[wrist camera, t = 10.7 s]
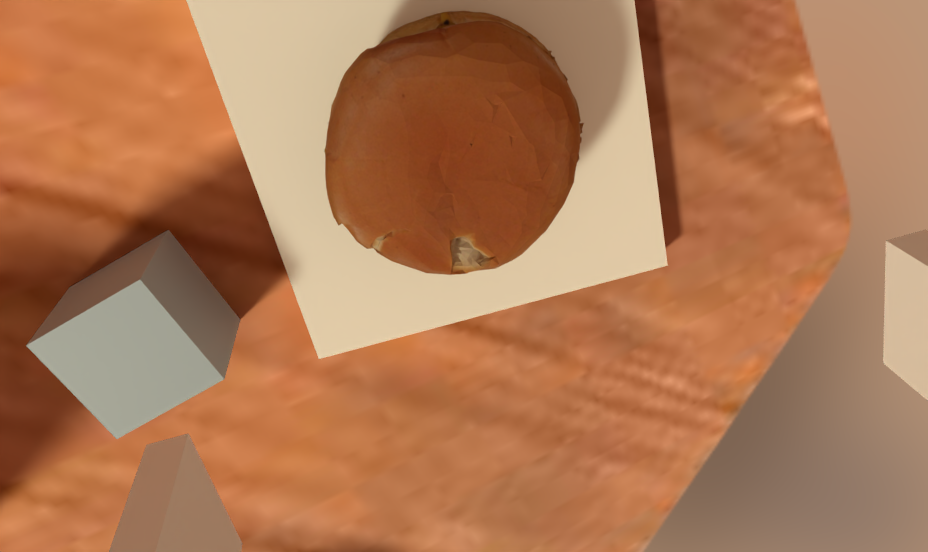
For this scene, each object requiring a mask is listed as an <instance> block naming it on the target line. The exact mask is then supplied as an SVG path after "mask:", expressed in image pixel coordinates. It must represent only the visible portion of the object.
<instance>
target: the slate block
mask: <svg viewBox="0 0 928 552" xmlns="http://www.w3.org/2000/svg"><path fill="white" fill-rule="evenodd" d="M239 322H240V319H239V317H238V316H237V315H236V314H235V312H234V311H233V310H232V309H231V307H230V306H229V305H228V304H227V302H226V301H225V300H224V299H223V297H222V296H221V295H220V294H219V292H218V291H217V290H216V289H215V287H214V286H213V285H212V283H211V282H210V281H209V280H208V278H207V277H206V276H205V275H204V273H203V272H202V271H201V270H200V268H199V267H198V266H197V265H196V263H195V262H194V261H193V260H192V258H191V257H190V256H189V255H188V253H187V252H186V251H185V250H184V248H183V247H182V246H181V245H180V243H179V242H178V241H177V240H176V238H175V237H174V236H173V235H172V233H171V232H170V231H169V230H167V231H165V232H163V233H162V234H160V235H158V236H157V237H155V238H153V239H151V240H150V241H148V242H146V243H145V244H143V245H141V246H139V247H138V248H136V249H134V250H133V251H131V252H129V253H127V254H126V255H124V256H122V257H121V258H119V259H117V260H115V261H114V262H112V263H110V264H109V265H107V266H105V267H103V268H102V269H100V270H98V271H97V272H95V273H93V274H91V275H90V276H88V277H86V278H85V279H83V280H81V281H79V282H78V283H76V284H74V285H73V286H71V287H69V289H68V290H67V291H66V293H65V294H64V295H63V297H62V298H61V299H60V301H59V302H58V303H57V305H56V306H55V307H54V309H53V310H52V311H51V313H50V314H49V315H48V317H47V318H46V319H45V321H44V322H43V323H42V325H41V326H40V327H39V329H38V330H37V331H36V333H35V334H34V335H33V337H32V338H31V339H30V341H29V342H28V343H27V345H26V346H27V347H28V348H29V349H30V350H31V351H32V352H33V353H34V354H35V355H36V356H37V357H38V359H39V360H40V361H41V362H42V363H43V364H44V365H45V366H46V367H47V368H48V369H49V370H50V371H51V372H52V373H53V374H54V375H55V376H56V377H57V378H58V379H59V380H60V381H61V382H62V383H63V384H64V385H65V386H66V387H67V388H68V389H69V390H70V391H71V392H72V394H73V395H74V396H75V397H76V398H77V399H78V400H79V401H80V402H81V403H82V404H83V405H84V406H85V407H86V408H87V409H88V410H89V411H90V412H91V413H92V414H93V415H94V416H95V417H96V418H97V419H98V420H99V421H100V422H101V423H102V424H103V425H104V426H105V427H106V428H107V430H108V431H109V432H110V433H111V434H112V435H113V436H114V437H115V438H116V439H118V438H120V437H122V436H123V435H125V434H127V433H129V432H130V431H132V430H134V429H136V428H138V427H139V426H141V425H143V424H145V423H147V422H148V421H150V420H152V419H154V418H156V417H157V416H159V415H161V414H163V413H165V412H166V411H168V410H170V409H172V408H174V407H175V406H177V405H179V404H181V403H182V402H184V401H186V400H188V399H190V398H191V397H193V396H195V395H197V394H199V393H200V392H202V391H204V390H206V389H208V388H209V387H211V386H213V385H215V384H217V383H218V382H220V381H222V380H224V378H225V375H226V371H227V367H228V364H229V360H230V356H231V352H232V349H233V345H234V341H235V337H236V334H237V330H238V326H239Z"/></svg>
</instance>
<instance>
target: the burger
mask: <svg viewBox="0 0 928 552" xmlns="http://www.w3.org/2000/svg"><path fill="white" fill-rule="evenodd" d="M551 52H552V51H548V50H547V48H546V47H545V46H544V45H543V44H542V43H541V42H539V40H538V39H537V38H536V37H534V36H533V35H532V34H530V33H529V32H527V31H526V30H525V29H523V28H522V27H520V26H518V25H516V24H514V23H512V22H511V21H509V20H506V19H504V18H501V17H499V16H496V15H492V14H489V13H483V12H470V11H450V12H442V13H438V14H434V15H431V16H427V17H425V18H422V19H419V20H416V21H413V22H410V23H407V24H405V25H403V26H401V27H399V28H397V29H395V30H394V31H392V32H390V33H389V34H388V35H387V36H386V37H385V38H384V39H383V40H382V41H381V42H380V44H378V45H377V46H375V47H373V48H368V49H366V50H365V51H363V52H362V53H361V54H360V55H359V56H358V57H357V59H356V60H355V61H354V62H353V63H352V65H351V66H350V67H349V68H348V70H347V71H346V72H345V74H344V76H343V78H342V80H341V82H340V85H339V88H338V91H337V94H336V96H335V99H334V101H333V103H332V105H331V113H330V119H329V122H328V130H327V138H326V147H325V179H326V189H327V196H328V200H329V204H330V207H331V211H332V214H333V217H334V219H335V220H336V222H337V224H338V226H339V225H341V224H343V225H344V226H345V227H346V228H347V229H348V231H349V232H350V233H351V234H352V236H353V237H354V238H355V240H356V241H357V242H358V243H359V244H361V245H362V246H364V247H365V248H366V249H371V248H373V249H374V250H375V251H376V252H377V253H379V254H380V255H382V256H384V257H385V258H387V259H389V260H390V261H393V262H395V263H398V264H401V265H404V266H407V267H410V268H413V269H416V270H419V271H422V272H425V273H431V274H445V275H455V274H467V273H469V272H473V271H479V270H488V269H496V268H498V267H500V266H502V265H504V264H506V263H508V262H510V261H512V260H514V259H516V258H517V257H519V256H520V255H522V254H523V253H524V252H525V251H526V250H527V249H528V248H529V247H530V246H531V245H532V244H533V243H534V242H535V241H536V240H537V239H538V238H539V237H540V236H541V235H542V234H543V233H544V232H545V231H546V230H547V229H548V227H549V226H550V224H551V223H552V221H553V220H554V218H555V217H556V215H557V214H558V213H559V211H560V210H561V208H562V207H563V205H564V203H565V201H566V199H567V197H568V194H569V192H570V190H571V188H572V185H573V183H574V178H575V171H576V165H577V162H578V160H579V150H580V143H581V141H582V138H581V137H580V134H581V133H582V128H583V124H584V123H580V121H581V119H580V114H579V108H578V104H577V101H576V99H575V97H574V95H573V93H572V91H571V89H570V87H569V85H568V83H567V80H568V79H567V78H566V76H565V74H563V73H562V71H561V70H560V68H559V66H558V64H557V62H556V60H555V57H553V56H552V55H551Z"/></svg>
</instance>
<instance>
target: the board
mask: <svg viewBox="0 0 928 552" xmlns="http://www.w3.org/2000/svg"><path fill="white" fill-rule="evenodd" d="M186 1H187V3H188V6H189V9H190V11H191V14H192V17H193V20H194V22H195V25H196V28H197V30H198V33H199V36H200V38H201V41H202V44H203V47H204V49H205V52H206V55H207V57H208V60H209V63H210V66H211V68H212V71H213V74H214V76H215V79H216V82H217V84H218V87H219V90H220V93H221V95H222V98H223V101H224V103H225V106H226V109H227V112H228V114H229V117H230V120H231V122H232V125H233V128H234V130H235V133H236V136H237V139H238V141H239V144H240V147H241V149H242V152H243V155H244V158H245V160H246V163H247V166H248V168H249V171H250V174H251V176H252V179H253V182H254V185H255V187H256V190H257V193H258V195H259V198H260V201H261V204H262V206H263V209H264V212H265V214H266V217H267V220H268V222H269V225H270V228H271V231H272V233H273V236H274V239H275V241H276V244H277V247H278V250H279V252H280V255H281V258H282V260H283V263H284V266H285V268H286V271H287V274H288V277H289V279H290V282H291V285H292V287H293V290H294V293H295V296H296V298H297V301H298V304H299V306H300V309H301V312H302V314H303V317H304V320H305V323H306V325H307V328H308V331H309V333H310V336H311V339H312V342H313V344H314V347H315V350H316V352H317V355H318V358H319V359H321V358H325V357H328V356H332V355H336V354H340V353H343V352H347V351H351V350H354V349H358V348H362V347H366V346H369V345H373V344H377V343H381V342H384V341H388V340H392V339H395V338H399V337H403V336H407V335H410V334H414V333H418V332H422V331H425V330H429V329H433V328H436V327H440V326H444V325H448V324H451V323H455V322H459V321H463V320H466V319H470V318H474V317H477V316H481V315H485V314H489V313H492V312H496V311H500V310H504V309H507V308H511V307H515V306H518V305H522V304H526V303H530V302H533V301H537V300H541V299H545V298H548V297H552V296H556V295H559V294H563V293H567V292H571V291H574V290H578V289H582V288H586V287H589V286H593V285H597V284H600V283H604V282H608V281H612V280H615V279H619V278H623V277H627V276H630V275H634V274H638V273H641V272H645V271H649V270H653V269H656V268H660V267H664V266H668V265H667V257H666V249H665V241H664V233H663V225H662V217H661V209H660V201H659V193H658V185H657V177H656V169H655V161H654V153H653V145H652V137H651V129H650V121H649V113H648V105H647V97H646V89H645V81H644V73H643V65H642V57H641V49H640V41H639V33H638V25H637V17H636V9H635V1H634V0H186ZM450 11H470V12H483V13H489V14H492V15H496V16H499V17H501V18H504V19H506V20H509V21H511V22H512V23H514V24H516V25H518V26H520V27H522V28H523V29H525V30H526V31H527V32H529V33H530V34H532V35H533V36H534V37H536V38H537V39H538V40H539V42H541V43H542V44H543V45H544V46H545V47H546V48H547V50H548V51H552V52H551V55H552V56H553V57H555V60H556V62H557V64H558V66H559V68H560V70H561V71H562V73H563V74H565V76H566V78H567V79H568V80H567V83H568V85H569V87H570V89H571V91H572V93H573V95H574V97H575V99H576V101H577V104H578V108H579V114H580V119H581V121H580V123H584V124H583V128H582V133H581V134H580V137H581V138H582V141H581V143H580V150H579V160H578V162H577V165H576V171H575V178H574V183H573V185H572V188H571V190H570V192H569V194H568V197H567V199H566V201H565V203H564V205H563V207H562V208H561V210H560V211H559V213H558V214H557V215H556V217H555V218H554V220H553V221H552V223H551V224H550V226H549V227H548V229H547V230H546V231H545V232H544V233H543V234H542V235H541V236H540V237H539V238H538V239H537V240H536V241H535V242H534V243H533V244H532V245H531V246H530V247H529V248H528V249H527V250H526V251H525V252H524V253H523V254H522V255H520V256H519V257H517V258H516V259H514V260H512V261H510V262H508V263H506V264H504V265H502V266H500V267H498V268H496V269H488V270H479V271H473V272H469V273H467V274H455V275H445V274H431V273H425V272H422V271H419V270H416V269H413V268H410V267H407V266H404V265H401V264H398V263H395V262H393V261H390V260H389V259H387V258H385V257H384V256H382V255H380V254H379V253H377V252H376V251H375V250H374V249H373V248H371V249H366V248H365V247H364V246H362V245H361V244H359V243H358V242H357V241H356V240H355V238H354V237H353V236H352V234H351V233H350V232H349V231H348V229H347V228H346V227H345V226H344V225H343V224H341V225H339V226H338V224H337V222H336V220H335V219H334V217H333V214H332V211H331V207H330V204H329V200H328V196H327V189H326V179H325V147H326V138H327V130H328V122H329V119H330V113H331V105H332V103H333V101H334V99H335V96H336V94H337V91H338V88H339V85H340V82H341V80H342V78H343V76H344V74H345V72H346V71H347V70H348V68H349V67H350V66H351V65H352V63H353V62H354V61H355V60H356V59H357V57H358V56H359V55H360V54H361V53H362V52H363V51H365V50H366V49H368V48H373V47H375V46H377V45H378V44H380V42H381V41H382V40H383V39H384V38H385V37H386V36H387V35H388V34H389V33H390V32H392V31H394V30H395V29H397V28H399V27H401V26H403V25H405V24H407V23H410V22H413V21H416V20H419V19H422V18H425V17H427V16H431V15H434V14H438V13H442V12H450Z"/></svg>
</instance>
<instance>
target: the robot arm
mask: <svg viewBox="0 0 928 552" xmlns="http://www.w3.org/2000/svg"><path fill="white" fill-rule="evenodd" d="M884 309H885V310H884V354H883V363H884V364H885V365H886V366H887V367H888V368H890V369H891V370H892V371H893V372H894V373H896V374H897V375H898V376H899V377H900V378H902V379H903V380H904V381H905V382H906V383H907V384H909V385H910V386H911V387H912V388H914V389H915V390H916V391H917V392H918V393H920V394H921V395H922V396H923V397H924V398H926V400H928V231H927V230H923V231H919V232H915V233H912V234H908V235H904V236H901V237H897V238H894V239H890V240H887V241H886V264H885V308H884ZM241 550H242V542H241V540H240V538H239V536H238V534H237V532H236V530H235V527H234V525H233V523H232V521H231V519H230V517H229V515H228V513H227V511H226V509H225V507H224V505H223V503H222V501H221V499H220V497H219V495H218V493H217V491H216V489H215V487H214V485H213V483H212V481H211V479H210V476H209V474H208V472H207V470H206V468H205V466H204V464H203V462H202V460H201V458H200V456H199V454H198V452H197V450H196V448H195V446H194V444H193V442H192V440H191V438H190V436H189V434H185V435H181V436H177V437H174V438H170V439H166V440H163V441H159V442H156V443H152V444H148V445H146V448H145V451H144V453H143V456H142V459H141V462H140V465H139V468H138V471H137V473H136V476H135V479H134V482H133V485H132V488H131V490H130V493H129V496H128V499H127V502H126V505H125V508H124V510H123V513H122V516H121V519H120V522H119V525H118V528H117V530H116V533H115V536H114V539H113V542H112V545H111V548H110V550H109V552H241Z"/></svg>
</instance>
